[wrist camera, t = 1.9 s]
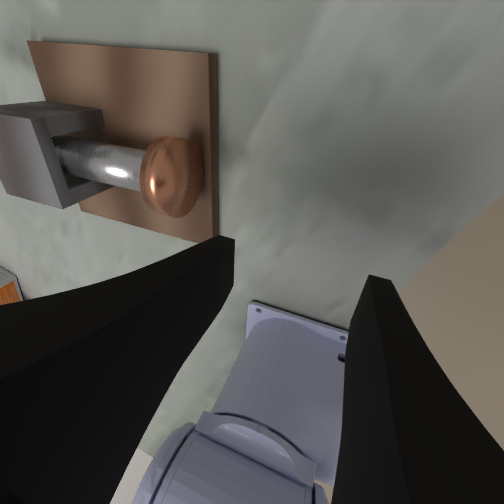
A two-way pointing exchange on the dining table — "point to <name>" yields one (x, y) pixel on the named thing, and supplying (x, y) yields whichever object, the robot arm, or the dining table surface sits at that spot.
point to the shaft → (139, 169)
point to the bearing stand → (113, 128)
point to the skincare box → (9, 288)
